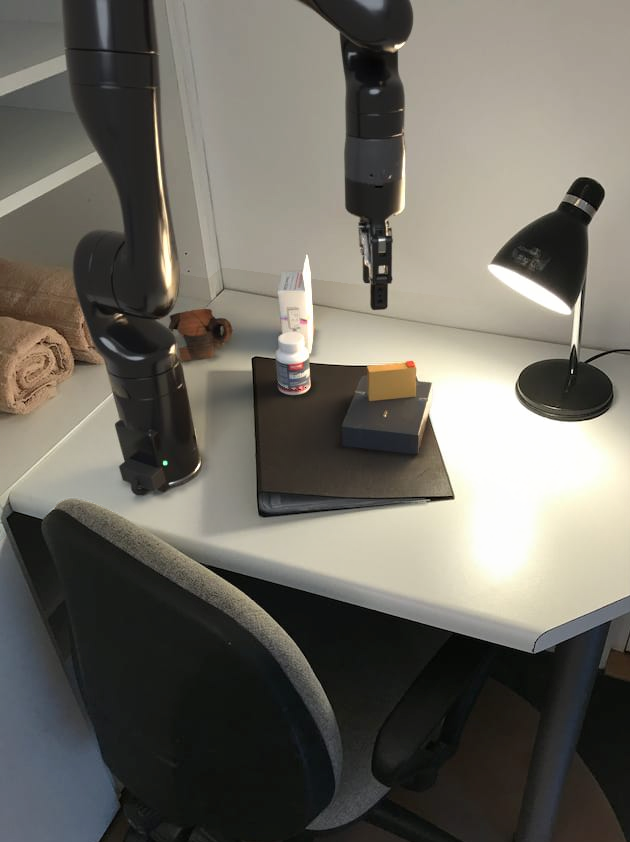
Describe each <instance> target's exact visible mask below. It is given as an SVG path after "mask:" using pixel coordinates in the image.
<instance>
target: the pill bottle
mask: <svg viewBox="0 0 630 842" xmlns="http://www.w3.org/2000/svg"><path fill="white" fill-rule="evenodd" d="M277 344H278V348H277V349H276V351H275V354H274V357H275V370H276V382H277V381H278V383H279V384H280V385H281V386H283V387H285V388H287V389H293V390H295V389H296V390H297V391H288V390H284V389H282V388H280V387H279V386H278V385H277V389H278V390H279V392H281V393H282V394H284V395H287V396H298V395H302V394H305V393H307V392H309V390H310V388H311V371H310V367H311V366H310V354H309V353H308V350H307V349H306V348H305V347H304V337H303V335H302V334H300V333H297V332H287V333H283V334H282V333H281V334H280V335H278V337H277ZM278 383H277V384H278ZM305 387H306V388H305ZM298 389H301V390H298Z"/></svg>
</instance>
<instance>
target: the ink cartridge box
mask: <svg viewBox="0 0 630 842" xmlns="http://www.w3.org/2000/svg"><path fill="white" fill-rule="evenodd" d="M311 281H312V279H311V268H310V262H309V257H308V254H305V257H304V263H303V267H302V270H282V271H281V274H280V279H279V282H278V287H277V290H276V294H277V300H278V308H279V309H278V311H279V318H280V328H281V334H283V333H287V332H297V333H300V334H302V335H303V337H304V347H305V348H306V349H307V350H308V353H309V355H310V354H311V353H312V348H313V347H312V346H313V339H314V313H313V299H312V298H313V297H312V282H311Z"/></svg>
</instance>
